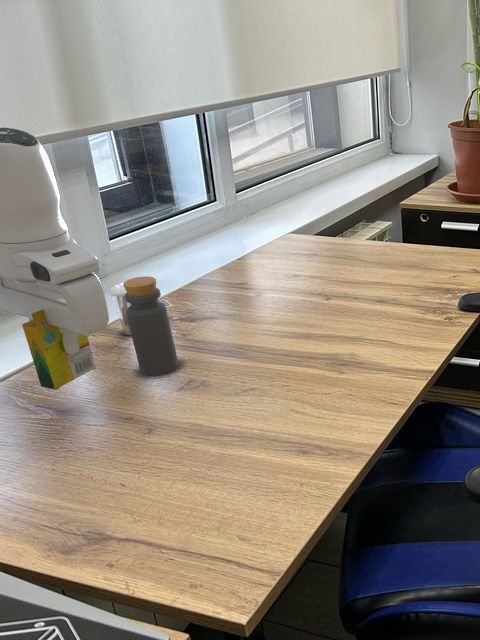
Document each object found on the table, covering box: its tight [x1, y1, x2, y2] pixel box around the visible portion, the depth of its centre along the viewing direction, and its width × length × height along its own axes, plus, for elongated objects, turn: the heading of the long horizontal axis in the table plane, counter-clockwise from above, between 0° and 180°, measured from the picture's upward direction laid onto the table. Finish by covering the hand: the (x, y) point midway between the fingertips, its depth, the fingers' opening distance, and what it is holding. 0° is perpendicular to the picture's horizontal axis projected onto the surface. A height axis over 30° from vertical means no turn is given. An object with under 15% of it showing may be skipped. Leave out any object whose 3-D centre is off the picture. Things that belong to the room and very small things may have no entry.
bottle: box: [122, 276, 179, 377], centre depth 112 cm, size 6×6×15 cm
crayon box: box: [21, 309, 97, 391], centre depth 100 cm, size 7×3×12 cm, turn 159°
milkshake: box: [109, 282, 132, 336], centre depth 127 cm, size 5×5×10 cm
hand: (61, 348), depth 100 cm, fingers closed on crayon box, 3 cm apart
